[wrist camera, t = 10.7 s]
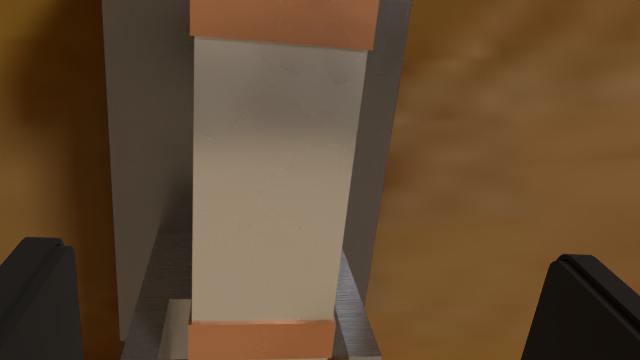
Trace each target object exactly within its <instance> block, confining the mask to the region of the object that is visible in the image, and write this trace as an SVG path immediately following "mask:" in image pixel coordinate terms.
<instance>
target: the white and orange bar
mask: <svg viewBox="0 0 640 360" xmlns="http://www.w3.org/2000/svg"><path fill="white" fill-rule="evenodd" d="M378 7H379V0H190V36H194V132H193V244H192V300H191V308H190V315H189V322H188V360H327V359H328V358H331V357H332V349H333V342H334V334H335V327H336V322H335V318H334V314H333V313H334V305H335V298H336V290H337V282H338V275H339V267H340V260H341V252H342V244H343V237H344V229H345V221H346V214H347V206H348V198H349V191H350V183H351V175H352V168H353V160H354V153H355V145H356V137H357V130H358V122H359V114H360V107H361V99H362V91H363V84H364V76H365V69H366V61H367V53H368V50H373V44H374V36H375V29H376V21H377V14H378Z"/></svg>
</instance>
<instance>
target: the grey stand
mask: <svg viewBox="0 0 640 360" xmlns="http://www.w3.org/2000/svg"><path fill="white" fill-rule="evenodd" d="M411 5H412V0H379V7H378V14H377V21H376V29H375V36H374V44H373V50H368V53H367V61H366V69H365V76H364V84H363V91H362V99H361V107H360V114H359V122H358V130H357V137H356V145H355V153H354V160H353V168H352V175H351V183H350V191H349V198H348V206H347V214H346V221H345V229H344V237H343V244H342V252H341V260H340V267H339V275H338V282H337V290H336V298H335V305H334V313H333V314H334V318H335V322H336V327H335V334H334V342H333V349H332V357H331V358H328V359H327V360H381V357H382V356H381V353H380V350H379V348H378V345H377V342H376V339H375V337H374V334H373V331H372V328H371V326H370V323H369V320H368V317H367V315H366V312H365V309H364V306H365V299H366V293H367V286H368V280H369V274H370V267H371V261H372V255H373V248H374V242H375V235H376V229H377V223H378V216H379V210H380V203H381V197H382V191H383V184H384V178H385V171H386V165H387V159H388V152H389V146H390V140H391V133H392V127H393V120H394V114H395V108H396V101H397V95H398V88H399V82H400V76H401V69H402V63H403V57H404V50H405V44H406V37H407V31H408V25H409V18H410V12H411ZM102 16H103V35H104V53H105V72H106V90H107V109H108V127H109V146H110V164H111V183H112V201H113V219H114V238H115V256H116V275H117V293H118V312H119V330H120V341H125V344H124V348H123V351H122V355H121V358H120V360H175V359H188V322H189V315H190V308H191V300H192V244H193V132H194V36H190V0H102Z"/></svg>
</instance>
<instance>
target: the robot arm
mask: <svg viewBox="0 0 640 360" xmlns="http://www.w3.org/2000/svg"><path fill="white" fill-rule="evenodd" d="M0 360H84V358H83V346H82V335H81V323H80V312H79V300H78V289H77V278H76V266H75V255H74V250H73V248H72V247H71V246H64V244H63V241H62V240H61V239H60V238H41V237H25V238H24V239H23V240H22V241H21V242H20V243H19V244H18V246H17V247H16V248H15V249H14V250H13V251H12V253H11V254H10V255H9V256H8V257H7V259H6V260H5V261H4V262H3V263H2V264H1V266H0ZM521 360H640V296H639V295H638V294H637V293H636V292H634V291H633V290H632V289H631V288H630V287H629V286H628V285H626V284H625V283H624V282H623V281H622V280H621V279H619V278H618V277H617V276H616V275H615V274H614V273H613V272H611V271H610V270H609V269H608V268H607V267H606V266H605V265H603V264H602V263H601V262H600V261H599V260H598V259H596V258H595V257H594V256H592V255H575V254H563V255H561V256H560V257H559V258H558V259H557V261H554V262H552V263H551V264H550V266H549V269H548V272H547V275H546V278H545V282H544V285H543V288H542V292H541V295H540V298H539V302H538V305H537V308H536V311H535V315H534V318H533V321H532V325H531V328H530V331H529V335H528V338H527V341H526V344H525V348H524V351H523V354H522V358H521Z"/></svg>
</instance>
